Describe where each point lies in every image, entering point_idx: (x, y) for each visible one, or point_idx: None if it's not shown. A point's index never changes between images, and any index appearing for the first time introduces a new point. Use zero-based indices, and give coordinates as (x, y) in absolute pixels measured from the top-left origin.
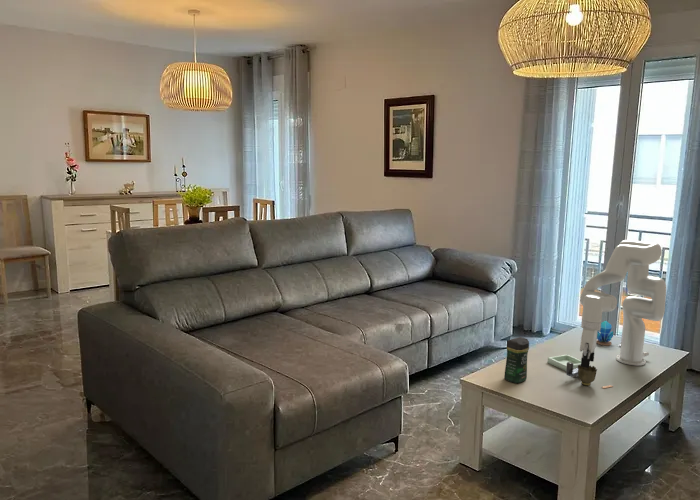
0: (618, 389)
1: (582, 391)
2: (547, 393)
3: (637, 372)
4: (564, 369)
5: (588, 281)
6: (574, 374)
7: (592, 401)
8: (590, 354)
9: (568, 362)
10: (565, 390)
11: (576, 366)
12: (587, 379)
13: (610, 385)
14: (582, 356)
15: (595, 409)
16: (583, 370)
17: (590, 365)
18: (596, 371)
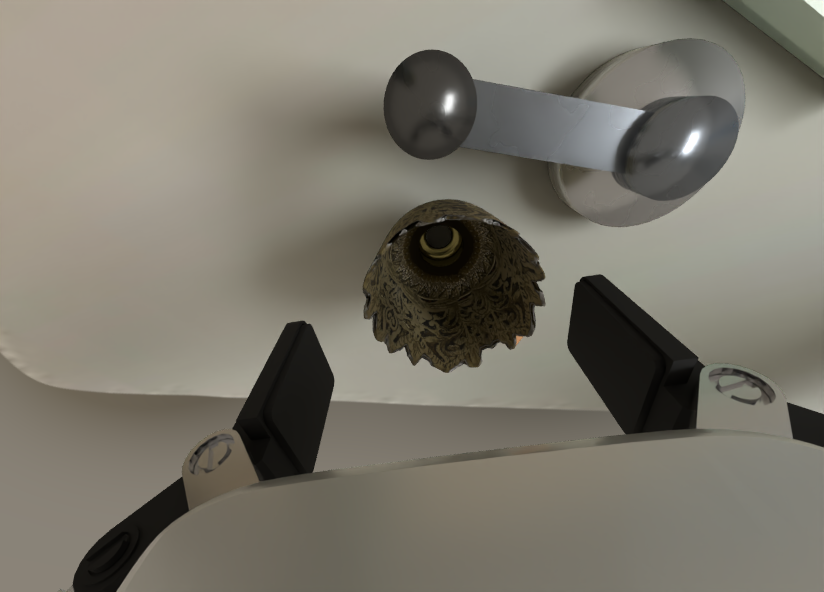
0: (497, 366)
1: (321, 256)
2: (35, 78)
3: (816, 364)
4: None
5: None
6: (466, 146)
7: (243, 334)
8: (621, 384)
9: (444, 71)
10: (232, 167)
11: (804, 26)
12: (388, 286)
13: (519, 336)
14: (191, 468)
15: (176, 367)
16: (368, 294)
17: (542, 303)
18: (454, 357)
